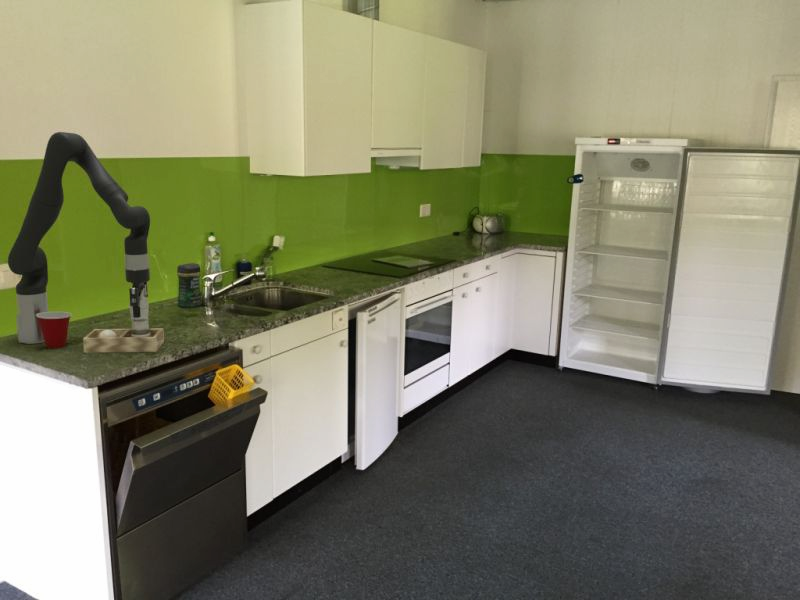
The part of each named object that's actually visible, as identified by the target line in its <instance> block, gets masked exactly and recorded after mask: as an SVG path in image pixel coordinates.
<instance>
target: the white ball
mask: <svg viewBox="0 0 800 600" xmlns="http://www.w3.org/2000/svg"><path fill="white" fill-rule="evenodd" d="M98 338H117V335H116V333H115V332H114V331H112V330H104V331H102V332H101V333H100V334H99V336H98Z"/></svg>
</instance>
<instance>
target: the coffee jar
mask: <svg viewBox="0 0 800 600" xmlns="http://www.w3.org/2000/svg"><path fill="white" fill-rule="evenodd" d="M176 274H177V278H178V294H177V295H178V296H177V306H179V307H181V308H184V309H185V308H195V307H199V306H201V305H202V302H203V301H202V300H203V299H202V292H201V285H200V277H201V266H200V264H199V263H193V262H192V263H185V264H179V265H178V266H177V270H176Z"/></svg>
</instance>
